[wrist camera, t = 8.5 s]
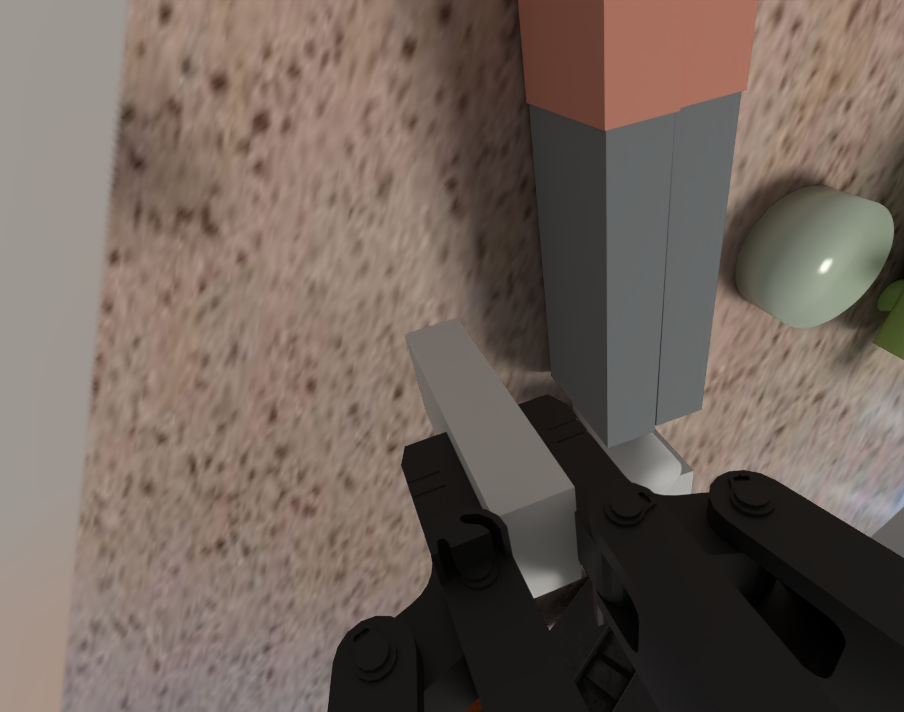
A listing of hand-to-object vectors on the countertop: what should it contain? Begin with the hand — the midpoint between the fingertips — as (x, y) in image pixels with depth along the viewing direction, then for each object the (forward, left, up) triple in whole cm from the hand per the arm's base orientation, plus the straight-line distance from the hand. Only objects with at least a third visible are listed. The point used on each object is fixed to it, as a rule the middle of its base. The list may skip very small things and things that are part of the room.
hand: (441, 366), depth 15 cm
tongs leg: (+8, -1, -10) cm, 13 cm away
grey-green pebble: (+22, -7, -10) cm, 25 cm away
